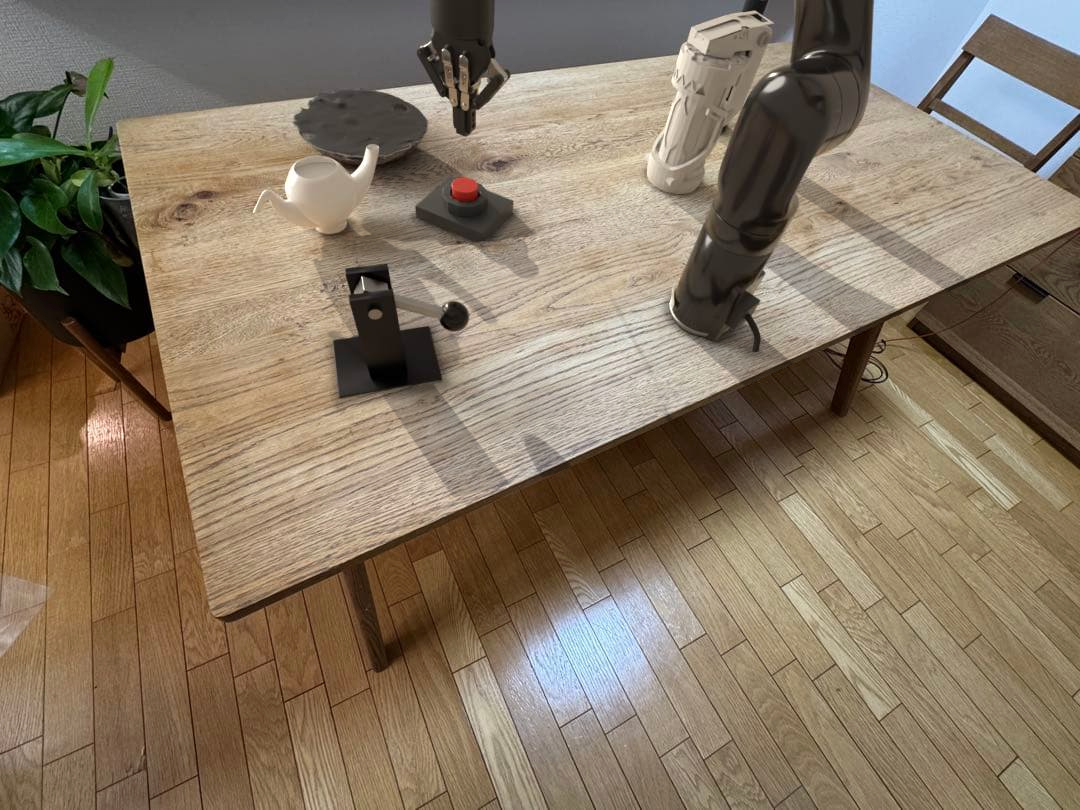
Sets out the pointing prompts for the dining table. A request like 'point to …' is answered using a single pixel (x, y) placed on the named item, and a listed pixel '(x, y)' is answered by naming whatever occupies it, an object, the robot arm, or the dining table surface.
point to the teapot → (322, 192)
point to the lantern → (706, 96)
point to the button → (465, 189)
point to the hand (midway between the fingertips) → (464, 132)
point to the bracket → (381, 342)
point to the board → (361, 125)
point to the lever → (422, 306)
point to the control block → (465, 212)
